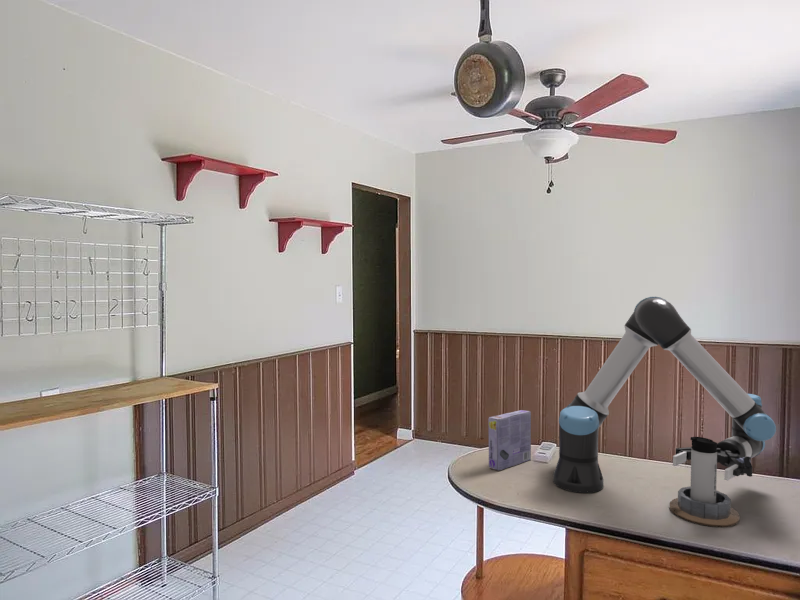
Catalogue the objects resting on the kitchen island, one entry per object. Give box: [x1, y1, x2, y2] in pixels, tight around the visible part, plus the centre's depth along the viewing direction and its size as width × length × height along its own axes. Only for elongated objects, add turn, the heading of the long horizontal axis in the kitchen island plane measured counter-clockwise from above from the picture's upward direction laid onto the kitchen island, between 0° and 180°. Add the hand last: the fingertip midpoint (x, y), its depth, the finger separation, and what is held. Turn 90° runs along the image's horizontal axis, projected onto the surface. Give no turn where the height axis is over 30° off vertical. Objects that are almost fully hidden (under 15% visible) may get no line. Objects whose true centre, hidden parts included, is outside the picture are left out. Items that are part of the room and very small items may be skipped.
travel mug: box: [689, 436, 718, 503], centre depth 154 cm, size 6×7×20 cm
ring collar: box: [668, 485, 740, 528], centre depth 154 cm, size 17×17×5 cm
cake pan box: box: [487, 409, 532, 472], centre depth 193 cm, size 19×5×18 cm, turn 130°
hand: (699, 467), depth 151 cm, fingers open, 13 cm apart
